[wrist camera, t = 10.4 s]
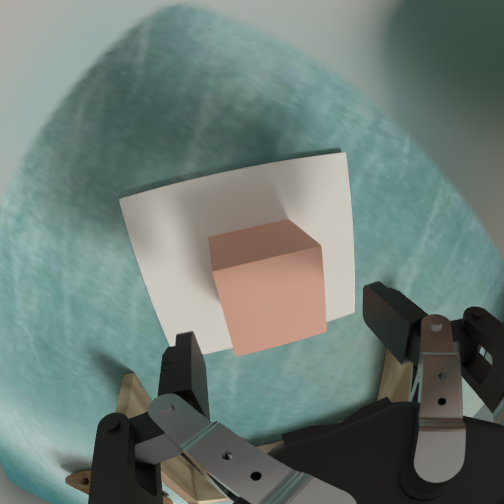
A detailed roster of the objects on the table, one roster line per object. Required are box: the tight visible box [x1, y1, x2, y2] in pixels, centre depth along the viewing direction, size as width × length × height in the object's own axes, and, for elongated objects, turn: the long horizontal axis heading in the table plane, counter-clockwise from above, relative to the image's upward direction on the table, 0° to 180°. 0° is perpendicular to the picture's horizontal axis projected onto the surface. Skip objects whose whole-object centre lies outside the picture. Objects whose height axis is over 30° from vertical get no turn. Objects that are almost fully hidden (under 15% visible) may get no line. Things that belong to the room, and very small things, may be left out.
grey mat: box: [119, 152, 355, 355], centre depth 18 cm, size 14×12×1 cm
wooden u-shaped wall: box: [115, 347, 413, 504], centre depth 21 cm, size 24×16×6 cm, turn 100°
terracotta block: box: [208, 219, 327, 357], centre depth 16 cm, size 5×5×5 cm
